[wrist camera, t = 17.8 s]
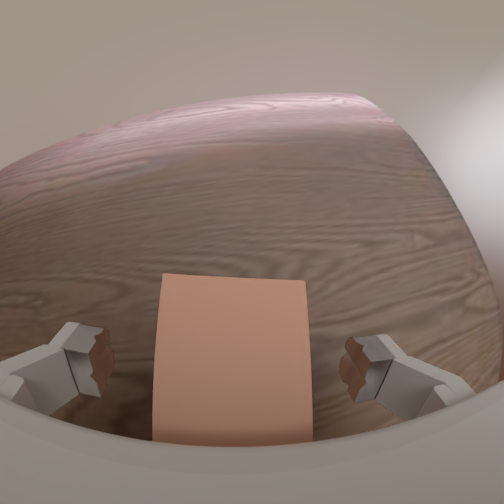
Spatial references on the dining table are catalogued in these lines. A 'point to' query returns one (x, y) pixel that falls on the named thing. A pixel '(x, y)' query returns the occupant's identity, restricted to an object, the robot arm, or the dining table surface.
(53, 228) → the dining table surface
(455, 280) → the dining table surface
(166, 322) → the salmon pink rectangular block
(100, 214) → the dining table surface
